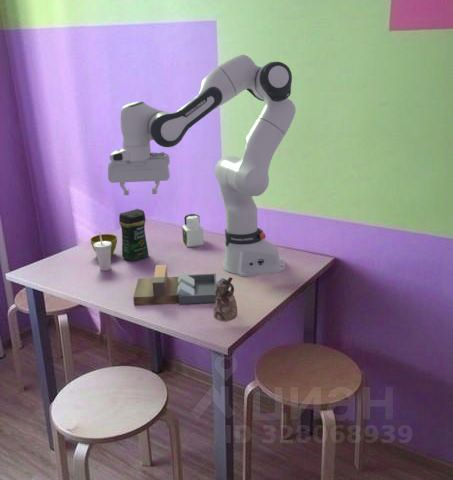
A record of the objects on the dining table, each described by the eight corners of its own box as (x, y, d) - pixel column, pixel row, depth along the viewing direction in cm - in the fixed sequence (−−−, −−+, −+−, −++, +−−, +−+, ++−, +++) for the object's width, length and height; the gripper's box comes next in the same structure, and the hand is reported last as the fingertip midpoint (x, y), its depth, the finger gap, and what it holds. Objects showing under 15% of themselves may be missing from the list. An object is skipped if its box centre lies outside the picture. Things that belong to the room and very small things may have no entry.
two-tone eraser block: (167, 277, 175) (166, 264, 173) (165, 295, 162) (164, 282, 160) (156, 277, 175) (155, 264, 173) (153, 296, 162) (152, 282, 160)
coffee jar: (131, 263, 195) (126, 215, 189) (119, 258, 200) (114, 211, 194) (152, 255, 201) (148, 209, 195) (139, 251, 207) (135, 206, 200)
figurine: (209, 312, 157) (208, 276, 153) (231, 307, 160) (230, 271, 155) (219, 323, 151) (217, 285, 147) (241, 318, 153) (240, 280, 149)
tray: (216, 281, 178) (215, 273, 177) (217, 303, 163) (217, 294, 162) (180, 283, 177) (180, 275, 176) (179, 305, 162) (178, 296, 161)
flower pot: (123, 251, 207) (121, 234, 204) (111, 261, 197) (109, 243, 195) (100, 250, 209) (98, 233, 206) (87, 259, 200) (85, 242, 197)
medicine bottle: (182, 241, 215) (181, 213, 211) (199, 239, 217) (198, 211, 213) (186, 247, 209) (185, 219, 205) (204, 245, 211) (202, 216, 206)
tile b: (191, 293, 168) (194, 289, 168) (191, 300, 164) (194, 296, 163) (177, 286, 167) (181, 281, 167) (177, 293, 162) (180, 288, 162)
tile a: (191, 283, 175) (194, 279, 175) (191, 290, 171) (194, 285, 170) (178, 276, 174) (181, 272, 174) (178, 283, 170) (181, 278, 169)
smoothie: (106, 263, 195) (102, 228, 190) (117, 267, 191) (113, 231, 187) (92, 269, 191) (88, 233, 186) (103, 273, 187) (99, 236, 182)
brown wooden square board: (180, 284, 176) (180, 276, 175) (179, 303, 163) (178, 295, 162) (138, 286, 176) (138, 278, 175) (134, 305, 163) (133, 297, 162)
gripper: (169, 150, 174) (172, 190, 179) (107, 152, 174) (112, 192, 178) (168, 153, 169) (171, 195, 173) (104, 156, 168) (109, 197, 173)
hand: (140, 194), depth 176 cm, fingers open, 8 cm apart
